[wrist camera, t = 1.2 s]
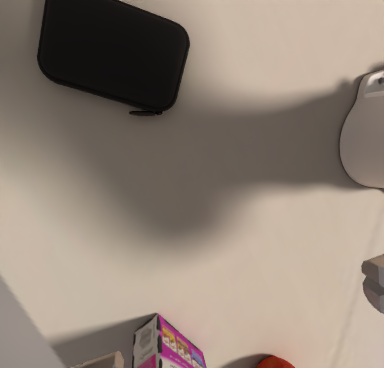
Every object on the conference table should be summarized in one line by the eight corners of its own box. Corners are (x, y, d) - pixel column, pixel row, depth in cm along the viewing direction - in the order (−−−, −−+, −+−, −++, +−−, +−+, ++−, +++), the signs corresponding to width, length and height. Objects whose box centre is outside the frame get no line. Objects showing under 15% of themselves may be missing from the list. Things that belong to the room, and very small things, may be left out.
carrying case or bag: (39, 88, 28) (168, 125, 31) (26, 85, 25) (170, 125, 28) (55, -17, 26) (191, 34, 29) (43, -35, 23) (196, 24, 27)
